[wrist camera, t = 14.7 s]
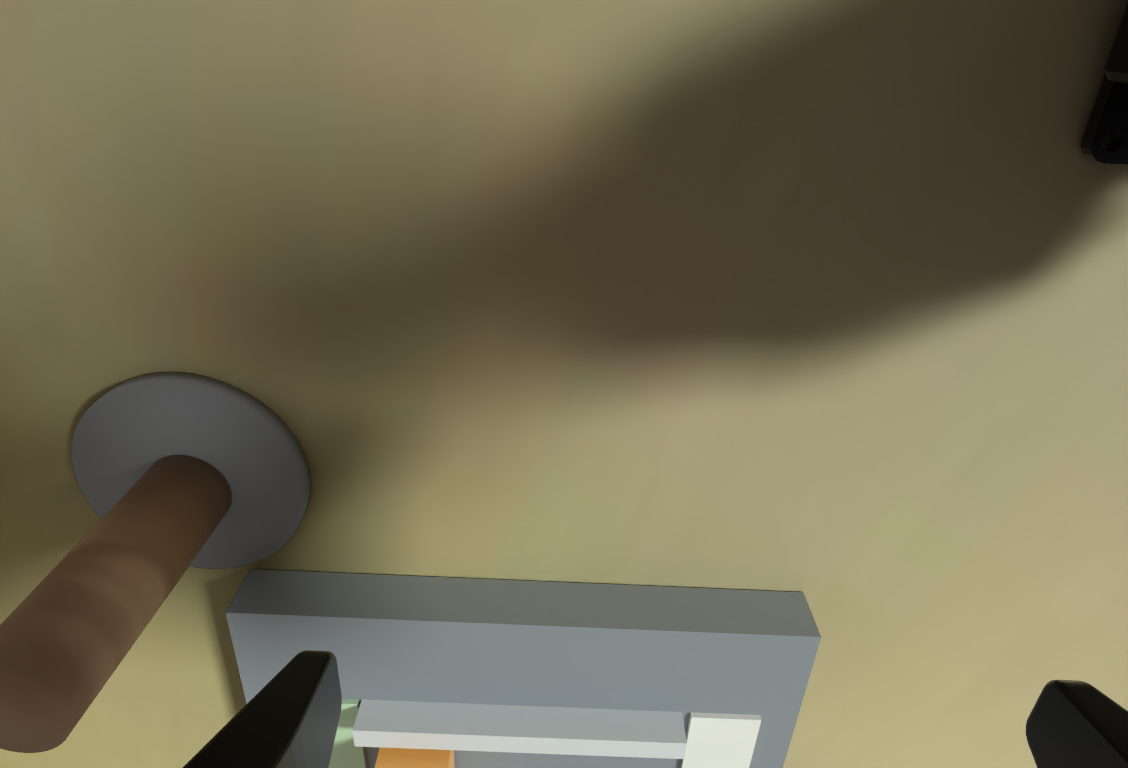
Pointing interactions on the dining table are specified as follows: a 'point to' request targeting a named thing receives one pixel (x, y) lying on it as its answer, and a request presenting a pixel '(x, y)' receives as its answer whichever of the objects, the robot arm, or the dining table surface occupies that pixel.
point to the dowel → (102, 600)
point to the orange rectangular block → (414, 758)
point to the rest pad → (206, 431)
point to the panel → (538, 667)
